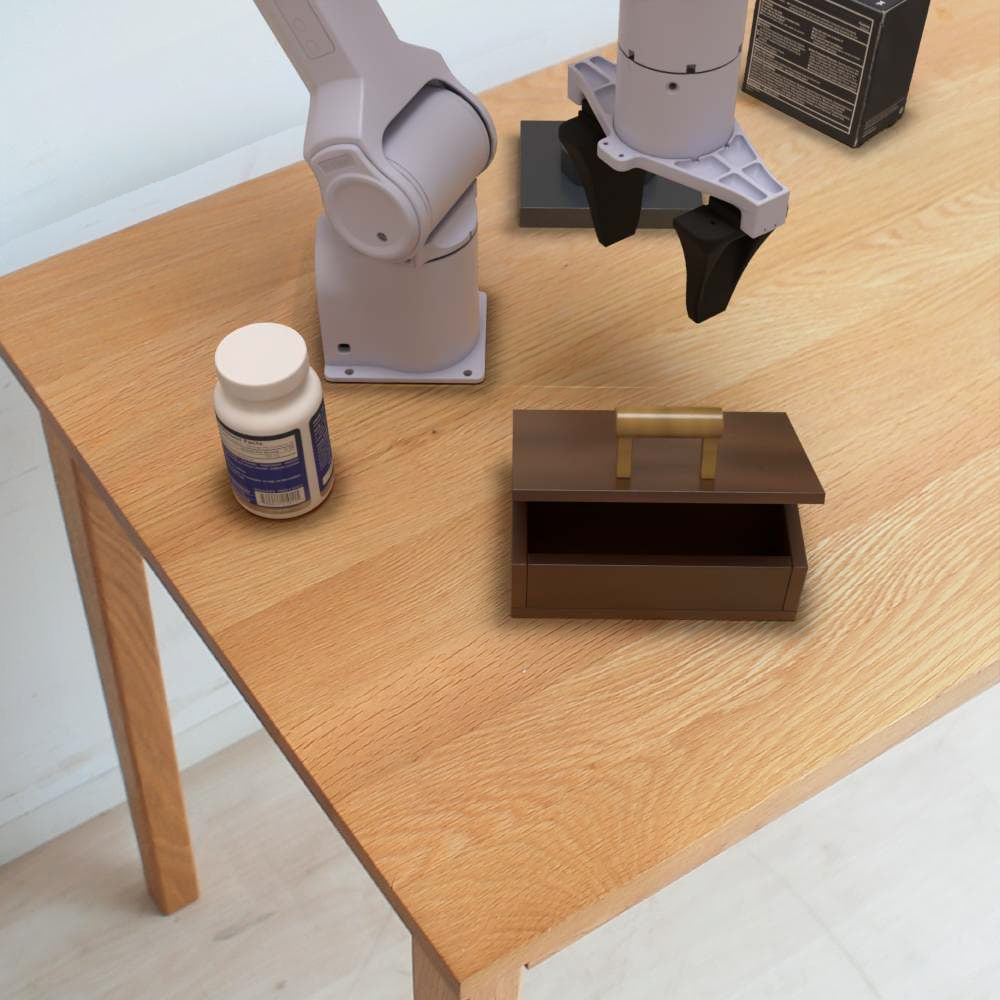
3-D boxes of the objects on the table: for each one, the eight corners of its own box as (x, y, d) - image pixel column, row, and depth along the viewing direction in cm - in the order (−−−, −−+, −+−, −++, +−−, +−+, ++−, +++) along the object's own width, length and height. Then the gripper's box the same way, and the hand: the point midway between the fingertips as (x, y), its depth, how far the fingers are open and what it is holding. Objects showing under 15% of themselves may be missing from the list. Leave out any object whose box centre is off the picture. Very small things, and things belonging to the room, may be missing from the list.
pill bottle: (283, 432, 83) (262, 299, 75) (356, 479, 80) (341, 346, 73) (210, 489, 80) (180, 357, 73) (283, 540, 78) (260, 408, 70)
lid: (824, 504, 67) (833, 422, 66) (511, 501, 67) (512, 419, 66) (785, 422, 77) (791, 348, 76) (512, 419, 77) (513, 346, 76)
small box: (909, 115, 104) (942, -21, 96) (855, 152, 101) (885, 14, 93) (792, 57, 109) (815, -76, 101) (737, 91, 106) (756, -44, 98)
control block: (519, 228, 95) (520, 184, 93) (520, 140, 102) (520, 97, 99) (701, 230, 95) (707, 186, 93) (690, 142, 102) (695, 98, 99)
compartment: (795, 620, 74) (808, 568, 71) (510, 617, 74) (511, 564, 71) (773, 475, 81) (784, 421, 77) (512, 473, 81) (512, 418, 78)
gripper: (517, 1, 69) (519, 232, 79) (715, 144, 60) (689, 381, 71) (634, -42, 71) (622, 187, 81) (839, 90, 63) (797, 326, 73)
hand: (660, 274), depth 76 cm, fingers open, 7 cm apart
